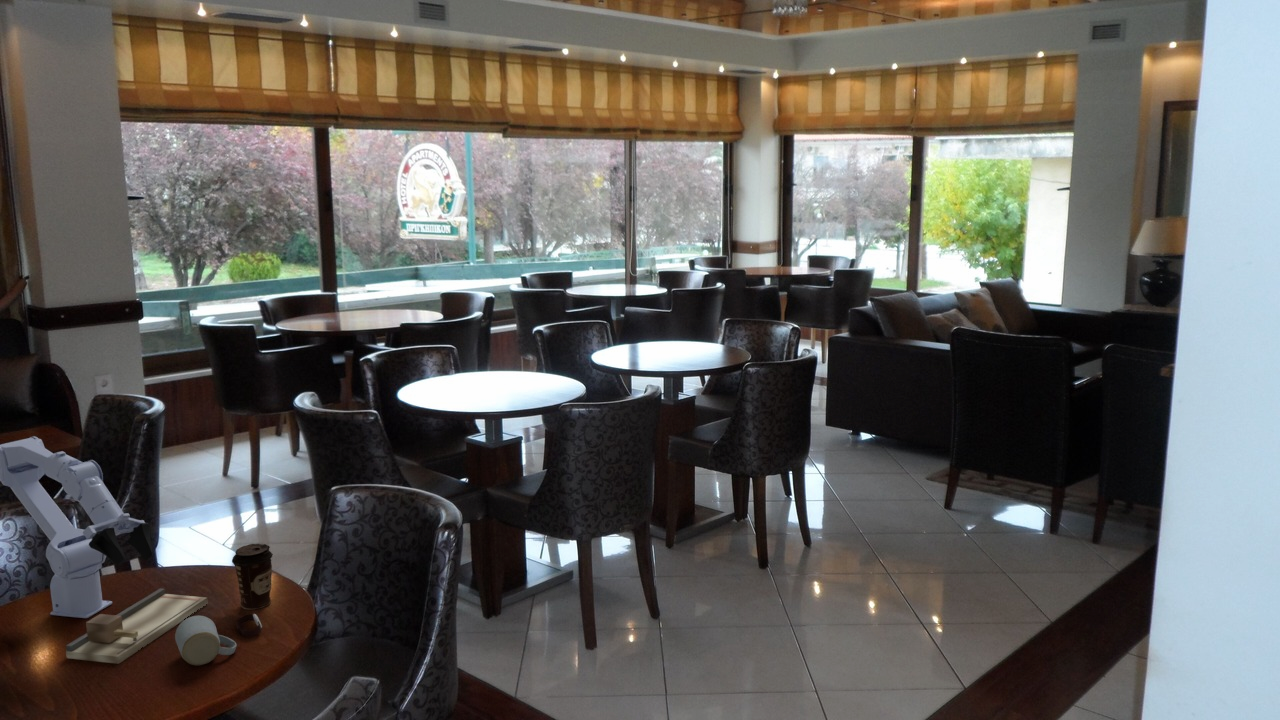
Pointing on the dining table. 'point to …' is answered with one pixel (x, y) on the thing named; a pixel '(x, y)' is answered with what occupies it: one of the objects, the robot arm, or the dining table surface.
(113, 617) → the marking gauge
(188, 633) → the ceramic mug
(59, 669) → the dining table surface
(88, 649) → the cream flat tray
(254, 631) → the watch
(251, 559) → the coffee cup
